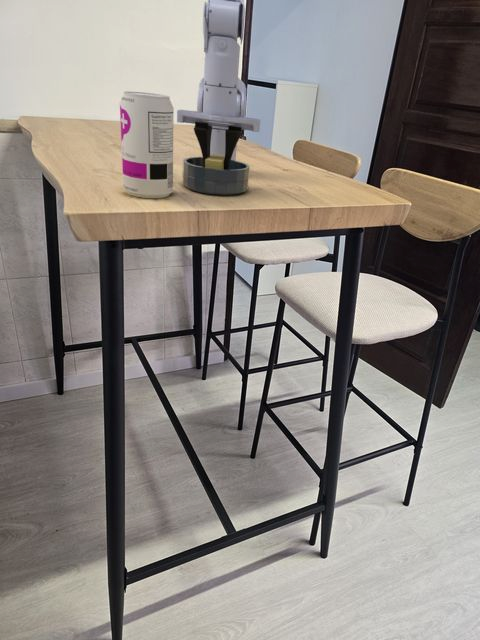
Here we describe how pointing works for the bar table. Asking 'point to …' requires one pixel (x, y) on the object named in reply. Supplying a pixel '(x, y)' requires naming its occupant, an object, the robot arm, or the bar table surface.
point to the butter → (215, 161)
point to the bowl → (215, 177)
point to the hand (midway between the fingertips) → (216, 169)
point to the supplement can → (147, 144)
